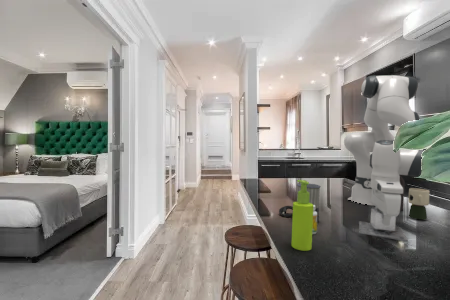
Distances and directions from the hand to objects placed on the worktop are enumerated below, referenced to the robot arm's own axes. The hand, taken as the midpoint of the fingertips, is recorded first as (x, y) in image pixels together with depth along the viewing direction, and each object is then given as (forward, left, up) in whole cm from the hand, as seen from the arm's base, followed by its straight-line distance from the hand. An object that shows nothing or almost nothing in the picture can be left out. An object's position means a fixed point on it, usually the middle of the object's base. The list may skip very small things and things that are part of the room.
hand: (382, 221), depth 90 cm
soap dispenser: (+30, -23, -4) cm, 38 cm away
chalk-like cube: (0, 0, -2) cm, 2 cm away
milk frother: (+2, -30, -4) cm, 30 cm away
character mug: (-28, +15, -4) cm, 32 cm away
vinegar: (-42, +9, -4) cm, 43 cm away
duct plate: (0, 0, -4) cm, 4 cm away
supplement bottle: (+16, -23, -4) cm, 29 cm away
